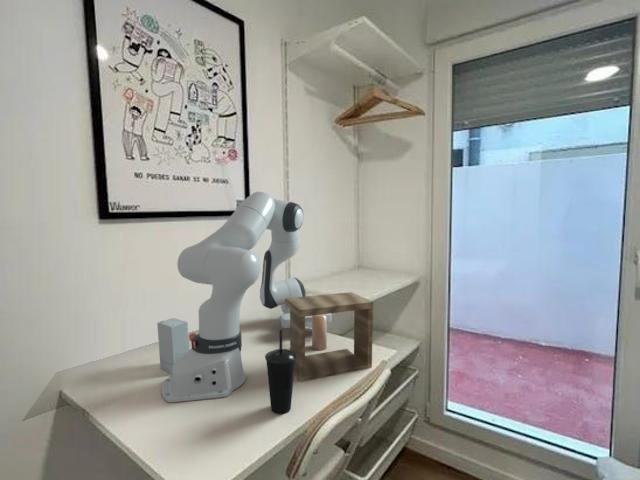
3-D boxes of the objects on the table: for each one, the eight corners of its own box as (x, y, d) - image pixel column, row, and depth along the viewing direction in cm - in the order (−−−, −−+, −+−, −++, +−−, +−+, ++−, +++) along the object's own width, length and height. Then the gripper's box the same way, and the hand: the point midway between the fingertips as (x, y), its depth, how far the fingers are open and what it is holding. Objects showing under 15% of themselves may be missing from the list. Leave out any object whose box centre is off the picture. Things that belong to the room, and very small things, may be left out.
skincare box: (191, 368, 108) (189, 321, 106) (172, 375, 103) (171, 326, 102) (176, 361, 113) (175, 316, 112) (158, 367, 108) (156, 321, 107)
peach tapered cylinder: (315, 351, 122) (315, 317, 120) (309, 345, 126) (309, 313, 125) (328, 349, 124) (329, 316, 123) (322, 343, 128) (323, 312, 127)
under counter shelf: (299, 381, 100) (300, 310, 98) (285, 362, 113) (285, 298, 111) (371, 367, 109) (373, 301, 108) (350, 350, 122) (351, 292, 120)
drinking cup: (298, 401, 90) (298, 325, 88) (293, 418, 82) (293, 336, 80) (269, 399, 90) (269, 324, 89) (261, 416, 83) (261, 335, 81)
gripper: (275, 309, 137) (286, 319, 125) (323, 304, 145) (337, 313, 133) (275, 325, 138) (286, 336, 125) (322, 319, 146) (337, 329, 133)
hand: (313, 324), depth 129 cm, fingers open, 8 cm apart
